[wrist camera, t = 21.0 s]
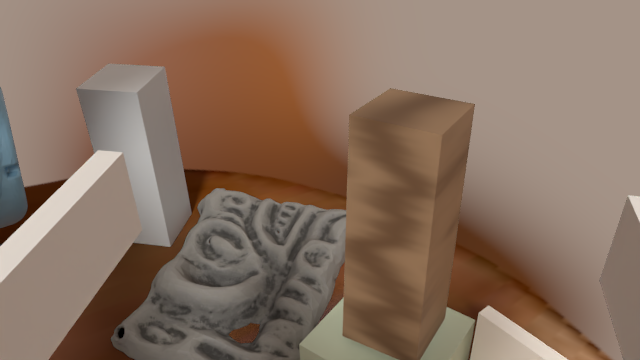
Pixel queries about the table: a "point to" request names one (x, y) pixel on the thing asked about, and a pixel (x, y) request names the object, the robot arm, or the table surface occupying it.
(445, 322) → the sage base block
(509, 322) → the card
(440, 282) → the walnut block
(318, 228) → the wall plaque
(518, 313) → the table surface
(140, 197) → the grey plastic block
